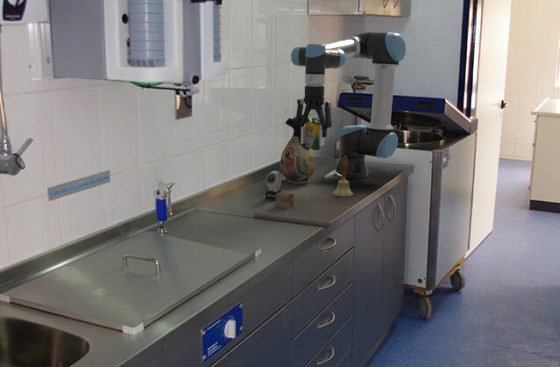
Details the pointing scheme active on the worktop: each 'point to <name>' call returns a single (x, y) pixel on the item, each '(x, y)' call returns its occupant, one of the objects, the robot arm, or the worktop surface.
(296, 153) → the ceramic jug
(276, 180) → the watch
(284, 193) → the walnut block
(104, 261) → the worktop surface
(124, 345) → the worktop surface
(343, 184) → the hand bell
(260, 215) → the metal rod
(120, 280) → the worktop surface
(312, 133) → the crayon box
